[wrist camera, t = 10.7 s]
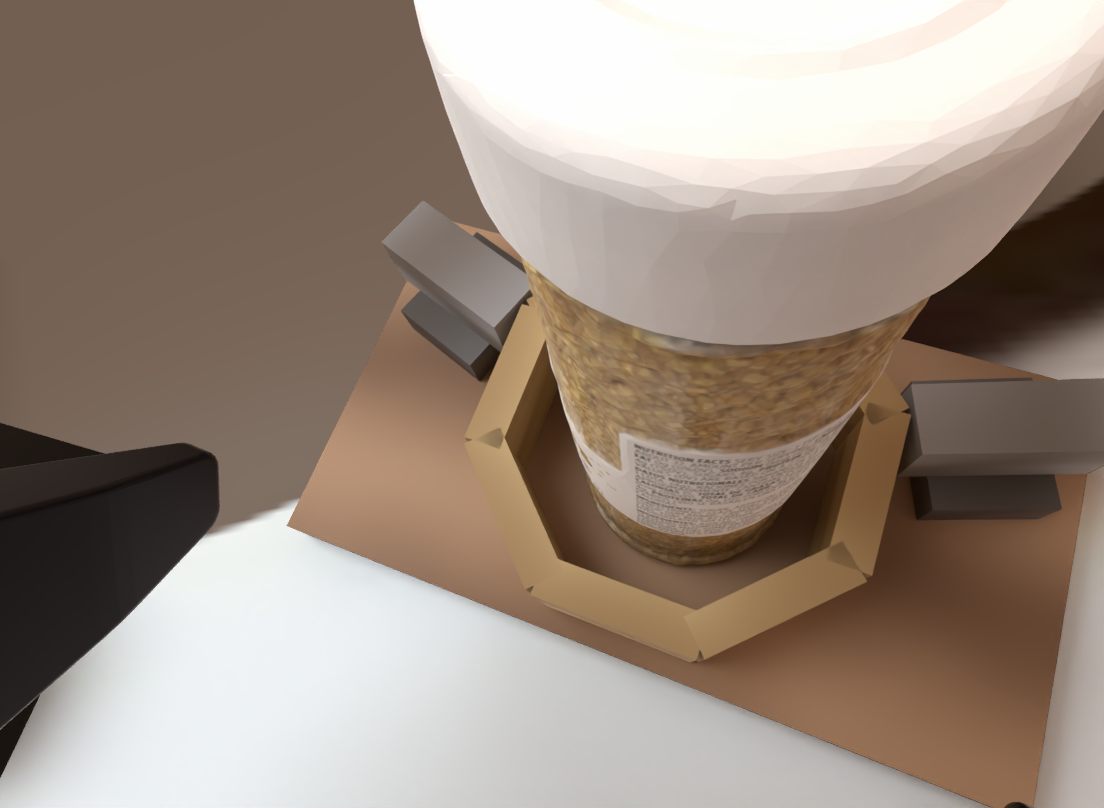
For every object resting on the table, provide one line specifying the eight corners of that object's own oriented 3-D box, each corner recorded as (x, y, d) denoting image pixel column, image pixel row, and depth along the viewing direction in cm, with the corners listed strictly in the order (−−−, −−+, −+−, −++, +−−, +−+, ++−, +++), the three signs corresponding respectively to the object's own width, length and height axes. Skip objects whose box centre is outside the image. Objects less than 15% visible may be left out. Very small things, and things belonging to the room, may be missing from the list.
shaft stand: (1006, 813, 14) (1112, 853, 11) (305, 533, 18) (227, 501, 15) (1075, 406, 17) (1178, 339, 14) (447, 238, 21) (407, 154, 18)
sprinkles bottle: (587, 380, 18) (422, -329, 5) (781, 375, 17) (1115, -440, 5) (585, 571, 16) (343, 209, 4) (798, 573, 16) (1377, 146, 3)
